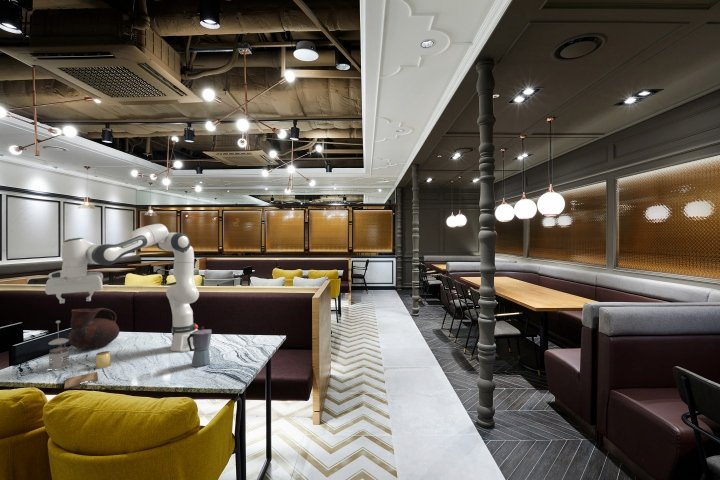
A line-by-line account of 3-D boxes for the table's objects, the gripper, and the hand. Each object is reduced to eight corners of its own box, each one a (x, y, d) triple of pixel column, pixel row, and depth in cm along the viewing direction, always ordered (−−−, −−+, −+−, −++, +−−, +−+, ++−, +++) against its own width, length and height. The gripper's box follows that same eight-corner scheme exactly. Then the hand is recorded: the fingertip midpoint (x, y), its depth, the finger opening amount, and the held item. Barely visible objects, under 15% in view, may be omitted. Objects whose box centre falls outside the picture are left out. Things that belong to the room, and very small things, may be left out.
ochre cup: (111, 363, 177) (110, 350, 177) (109, 367, 172) (109, 353, 172) (97, 365, 174) (96, 352, 174) (94, 369, 169) (94, 355, 169)
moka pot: (218, 360, 180) (217, 324, 180) (196, 371, 166) (195, 332, 165) (204, 358, 183) (204, 322, 183) (181, 368, 169) (181, 330, 169)
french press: (43, 372, 166) (41, 323, 166) (51, 364, 176) (50, 318, 176) (68, 368, 171) (67, 321, 170) (75, 361, 181) (74, 316, 181)
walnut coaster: (97, 372, 165) (97, 371, 165) (98, 380, 156) (98, 379, 156) (65, 379, 157) (65, 378, 157) (64, 388, 148) (64, 387, 148)
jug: (124, 345, 206) (123, 306, 205) (71, 357, 187) (70, 314, 186) (114, 337, 222) (113, 301, 222) (65, 347, 203) (64, 308, 203)
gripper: (104, 270, 160) (104, 298, 160) (48, 273, 150) (48, 303, 150) (101, 271, 155) (102, 300, 155) (43, 274, 144) (44, 305, 145)
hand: (75, 302), depth 152 cm, fingers open, 8 cm apart
